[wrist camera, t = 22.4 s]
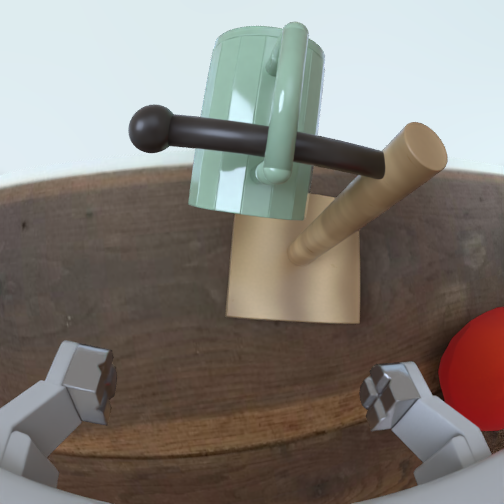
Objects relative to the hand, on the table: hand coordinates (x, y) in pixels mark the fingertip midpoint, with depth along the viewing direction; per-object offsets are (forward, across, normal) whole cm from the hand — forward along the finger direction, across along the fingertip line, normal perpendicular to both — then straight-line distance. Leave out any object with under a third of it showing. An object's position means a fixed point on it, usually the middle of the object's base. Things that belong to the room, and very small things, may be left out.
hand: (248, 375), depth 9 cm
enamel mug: (+10, 0, -11) cm, 15 cm away
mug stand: (+15, -3, +4) cm, 16 cm away
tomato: (+8, -24, +11) cm, 27 cm away
